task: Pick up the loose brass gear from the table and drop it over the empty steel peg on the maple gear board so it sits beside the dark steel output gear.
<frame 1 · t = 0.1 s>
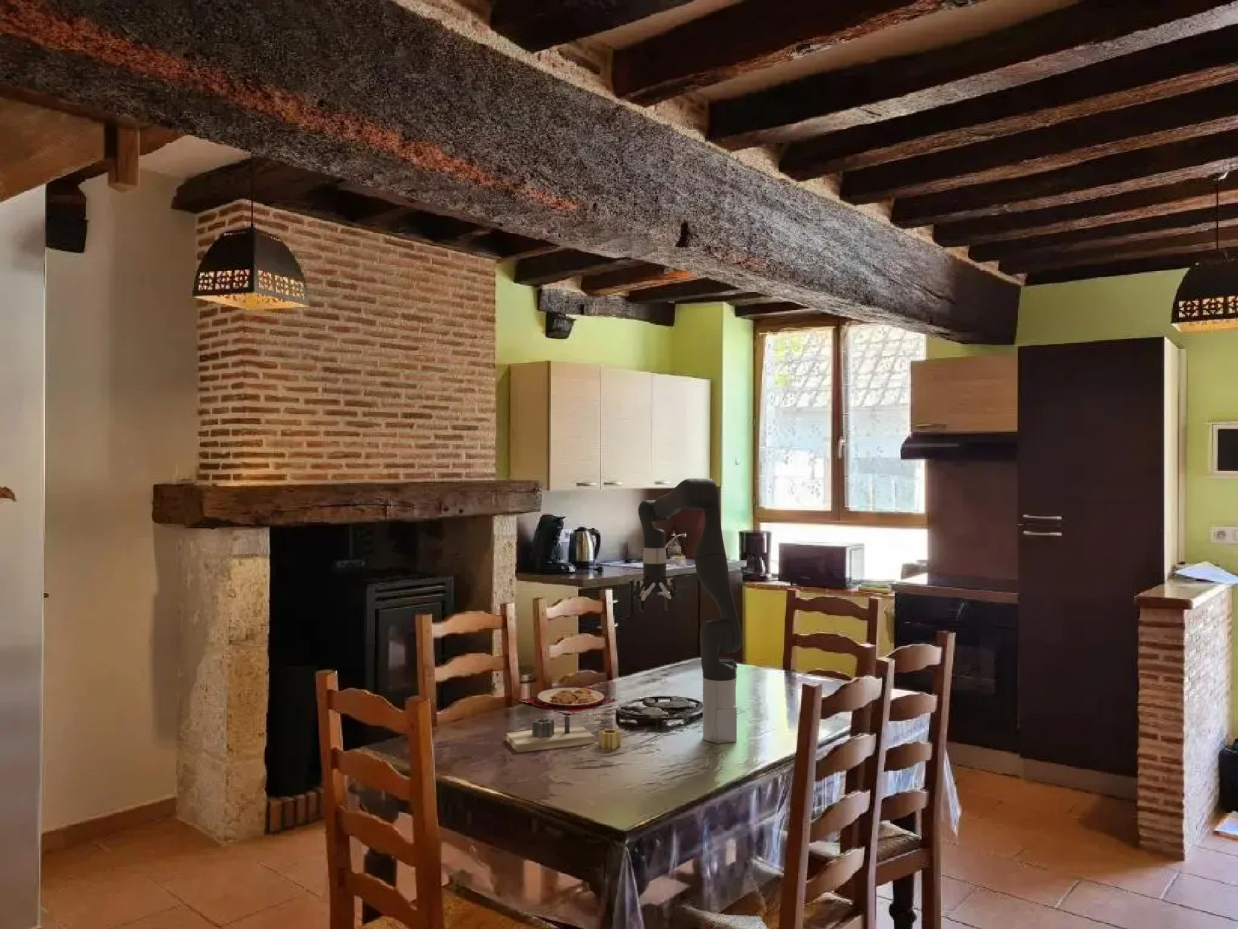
hand: (654, 611, 304), 29 cm above the table, fingers open, 8 cm apart
plate with food: (572, 703, 305), on the table
gear board: (550, 741, 260), on the table
brass gear: (609, 746, 256), on the table
coffee cup: (723, 705, 299), on the table
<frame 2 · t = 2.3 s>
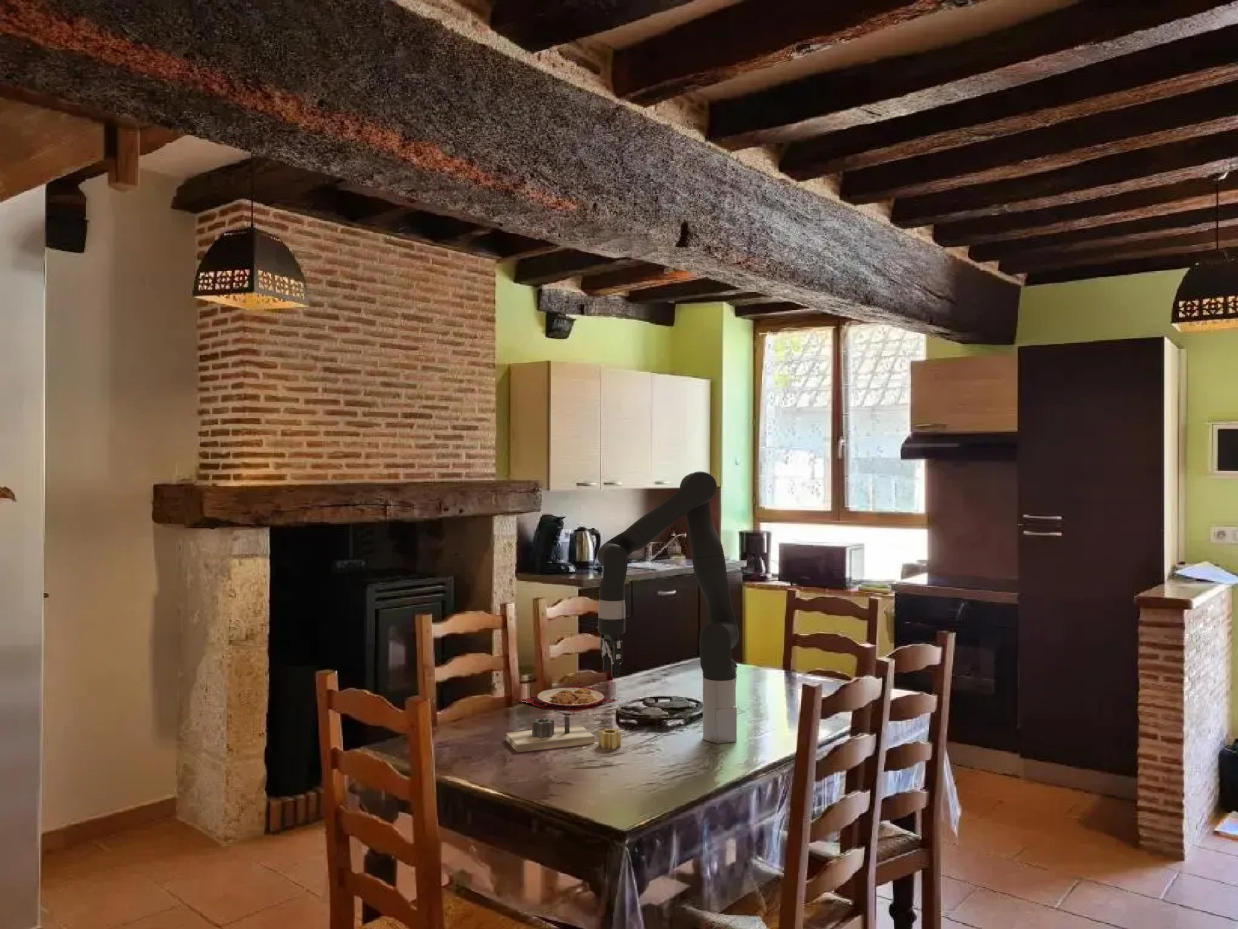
hand: (611, 674, 259), 19 cm above the table, fingers open, 8 cm apart
nothing on the table moved.
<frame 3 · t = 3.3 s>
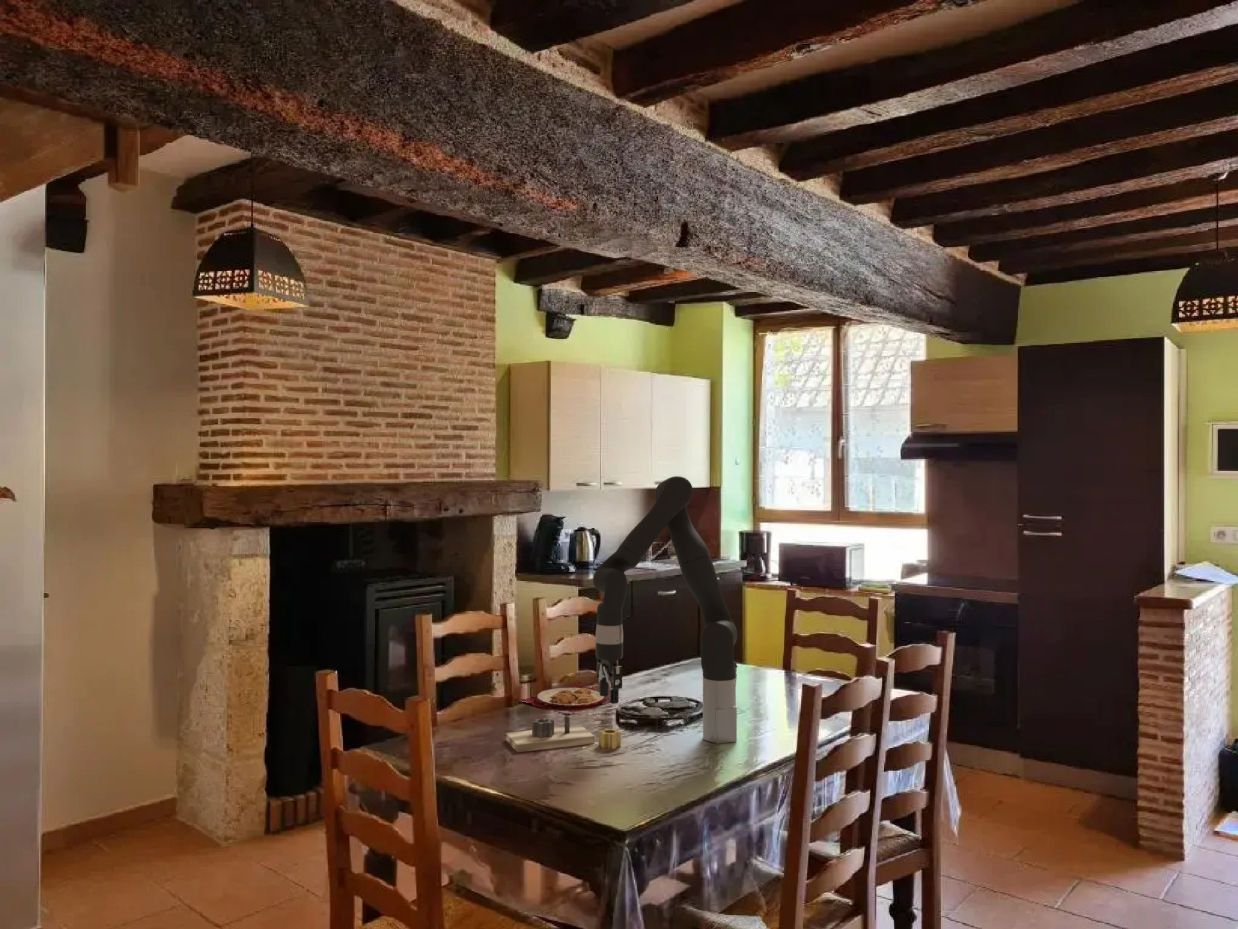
hand: (608, 699, 256), 13 cm above the table, fingers open, 8 cm apart
nothing on the table moved.
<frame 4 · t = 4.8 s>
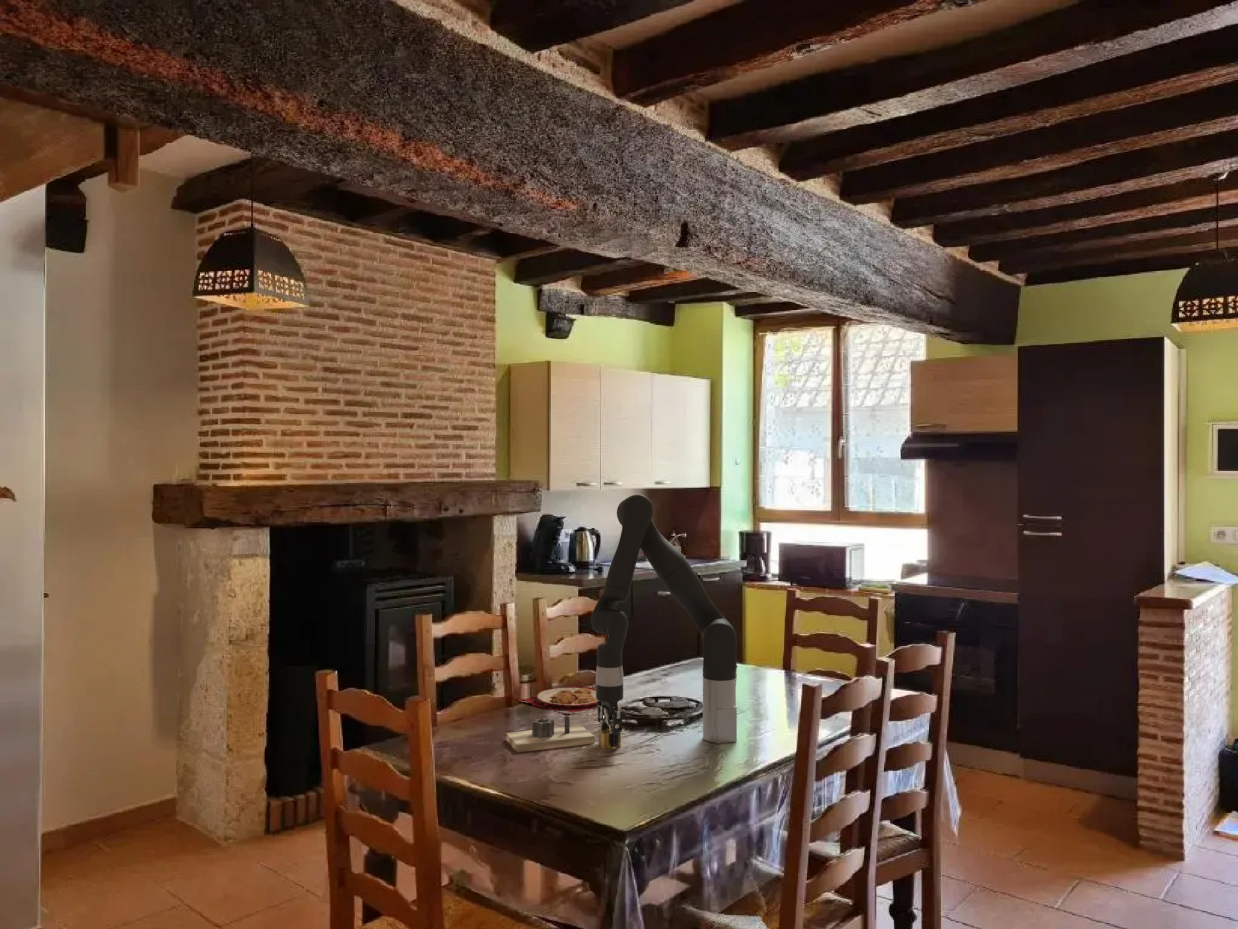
hand: (609, 743, 256), 1 cm above the table, fingers closed on brass gear, 6 cm apart
brass gear: (609, 746, 256), on the table, touching gripper
everything else where it was.
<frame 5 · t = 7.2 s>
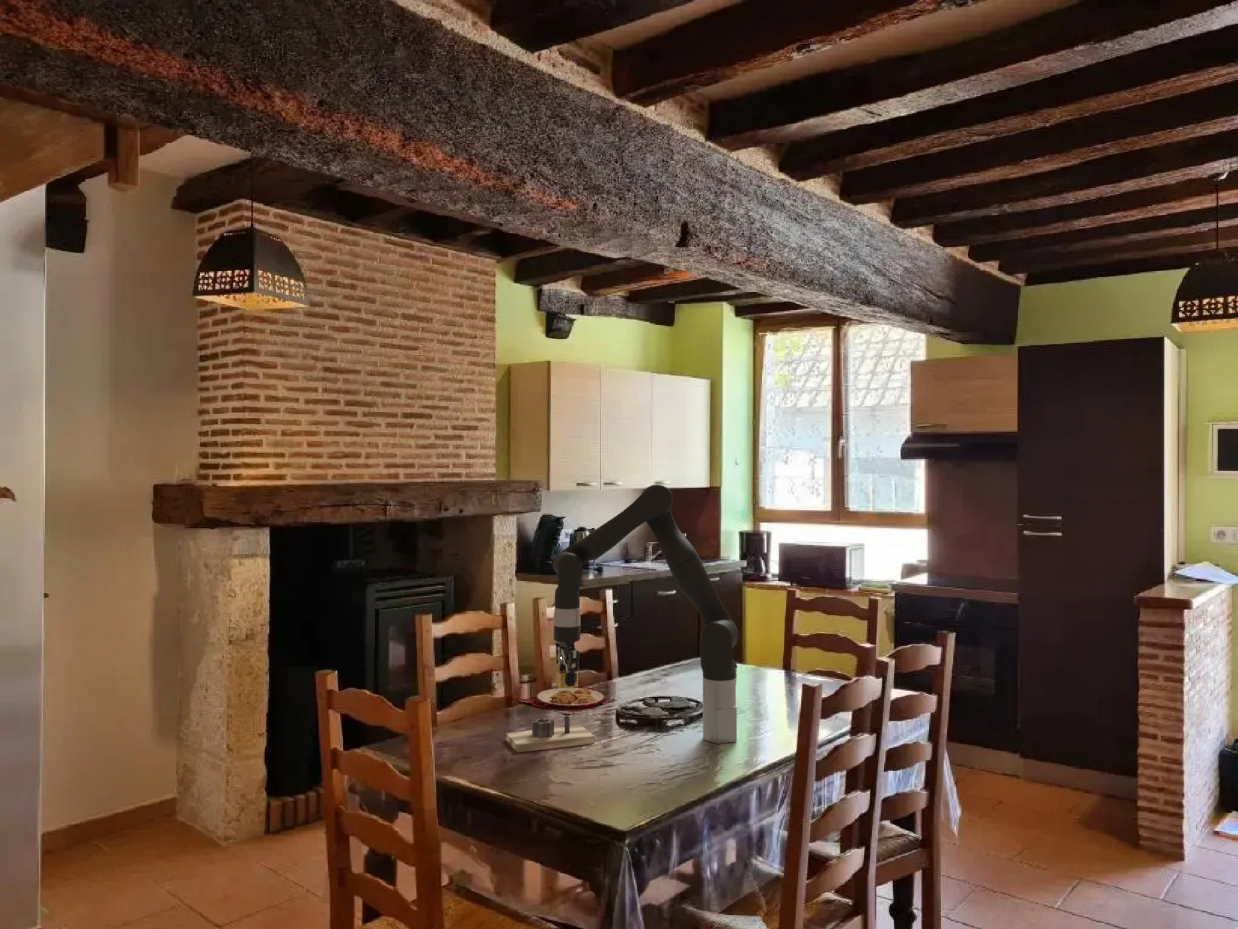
hand: (566, 683, 262), 16 cm above the table, fingers closed on brass gear, 6 cm apart
brass gear: (566, 686, 262), point 15 cm above the table, touching gripper
everything else where it was.
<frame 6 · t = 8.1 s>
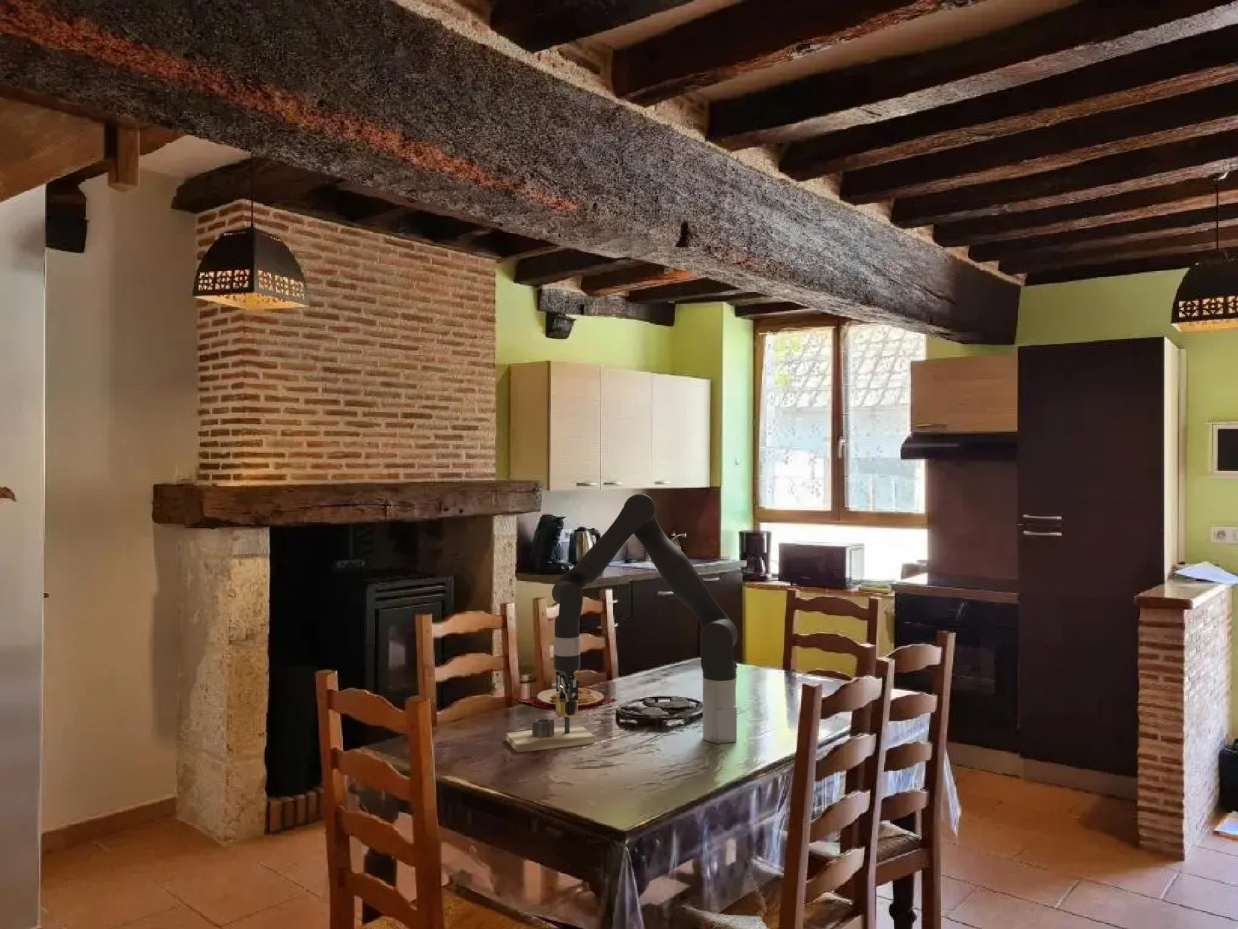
hand: (566, 711, 262), 8 cm above the table, fingers closed on brass gear, 6 cm apart
brass gear: (566, 714, 262), point 7 cm above the table, touching gripper
everything else where it was.
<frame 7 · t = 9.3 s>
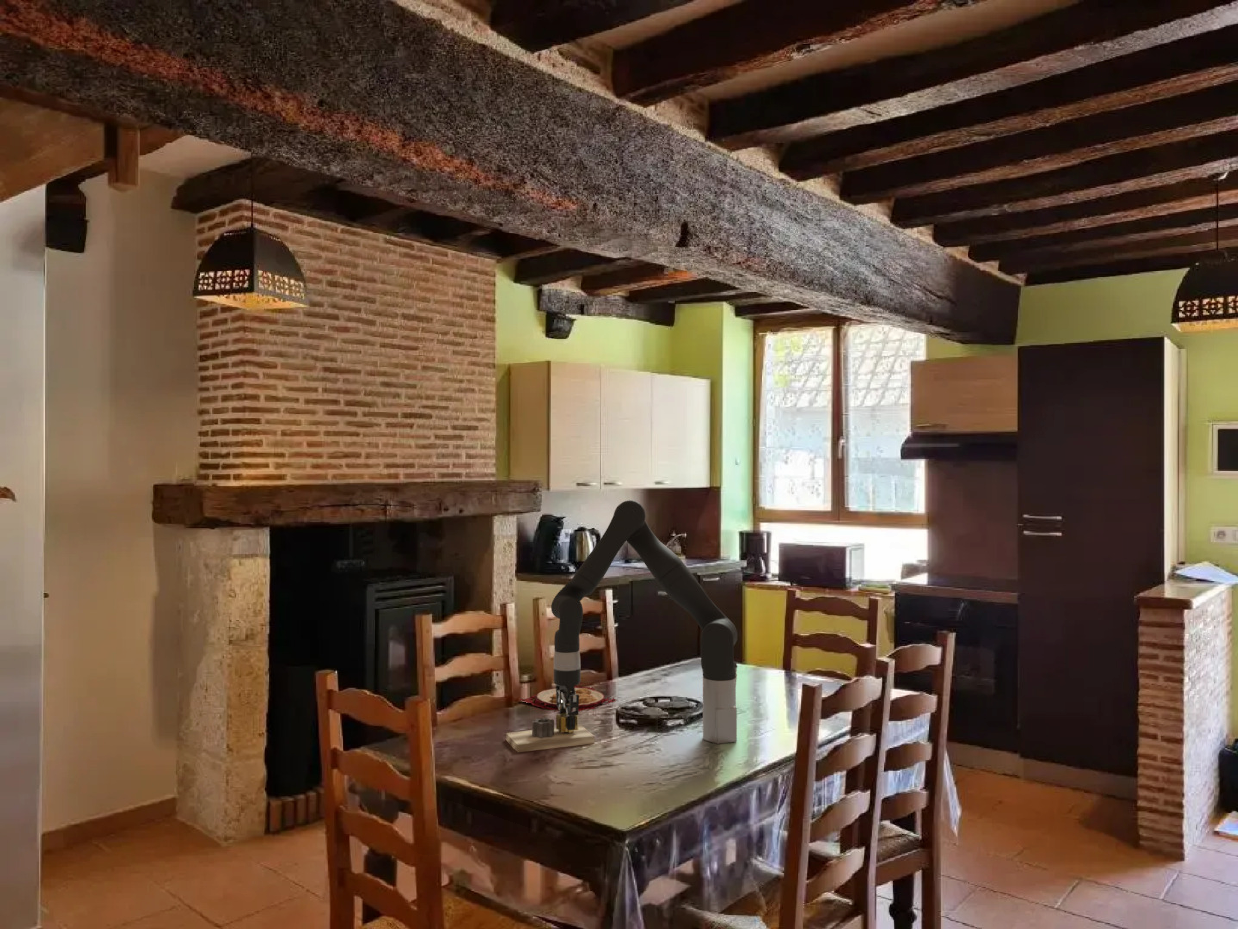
hand: (567, 726, 262), 4 cm above the table, fingers closed on brass gear, 6 cm apart
brass gear: (567, 729, 262), point 3 cm above the table, touching gripper
everything else where it was.
when the fingers open (4 cm above the table, at t = 9.5 s): brass gear stays where it is, resting on gear board.
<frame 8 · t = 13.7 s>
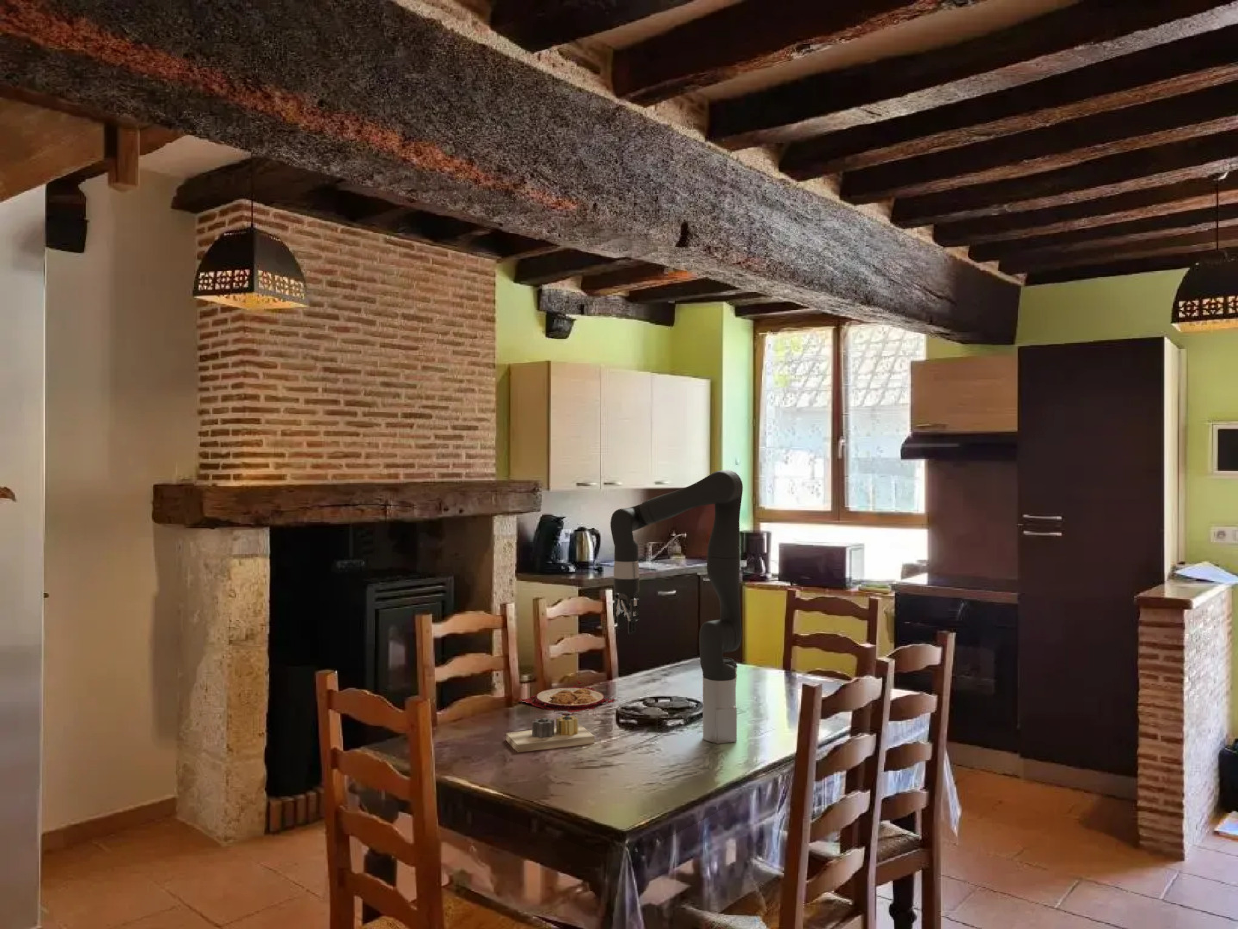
hand: (626, 631, 274), 28 cm above the table, fingers open, 8 cm apart
brass gear: (567, 732, 262), point 2 cm above the table, touching gear board
everything else where it was.
at the end: brass gear 0.1 cm from the target spot on the gear board, point 2.0 cm above the gear board's base; brass gear tilted 0°; the gripper is holding nothing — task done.
